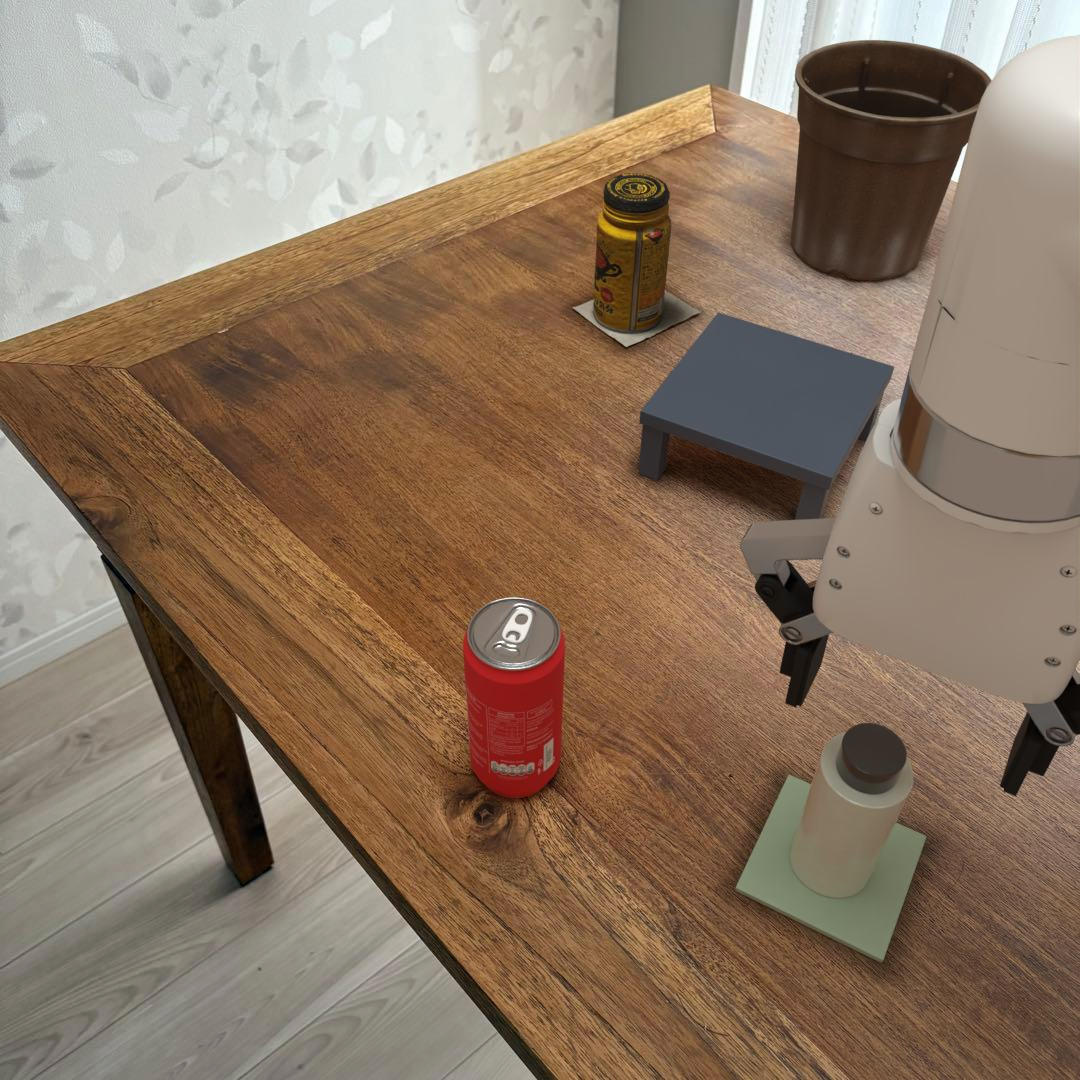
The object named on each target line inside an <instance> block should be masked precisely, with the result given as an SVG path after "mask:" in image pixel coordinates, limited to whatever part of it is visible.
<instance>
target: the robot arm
mask: <svg viewBox="0 0 1080 1080" xmlns="http://www.w3.org/2000/svg"><path fill="white" fill-rule="evenodd" d="M991 80H992V81H991V82H990V84H989V85H988V87H987V89H986V90H985V92H984V94H983V96H982V98H981V101H980V104H979V107H978V110H977V113H976V117H975V120H974V123H973V126H972V129H971V133H970V137H969V141H968V143H967V144H966V148H965V153H964V157H963V160H962V164H961V168H960V172H959V176H958V180H957V183H956V186H955V187H956V188H955V192H954V196H953V200H952V203H951V206H950V211H949V214H948V219H947V222H946V225H945V230H944V233H943V238H942V242H941V245H940V250H939V253H938V257H937V260H936V266H935V269H934V273H933V277H932V281H931V285H930V288H929V292H928V297H927V300H926V303H925V308H924V311H923V315H922V318H921V322H920V326H919V330H918V334H917V337H916V341H915V345H914V349H913V352H912V356H911V360H910V363H909V367H908V371H907V375H906V378H905V383H904V386H903V391H902V394H901V397H900V398H897V399H895V400H892V401H891V402H889V403H887V405H885V407H884V408H883V409H882V411H881V412H880V414H879V416H877V418H876V421H875V424H874V426H873V428H872V430H871V432H870V434H869V436H868V438H867V440H866V441H865V443H864V445H863V447H862V448H861V452H860V454H859V456H858V458H857V461H856V464H855V466H854V469H853V471H852V474H851V477H850V479H849V481H848V484H847V486H846V488H845V491H844V494H843V497H842V500H841V503H840V505H839V507H838V511H837V514H836V517H828V518H826V517H825V518H824V517H823V519H802V520H795V519H787V520H785V519H784V520H783V519H782V520H764V521H755V522H752V523H751V524H750V525H749V526H748V529H747V530H746V532H745V534H744V535H743V537H742V539H741V540H740V542H739V549H740V551H741V553H742V556H743V558H744V561H745V563H746V565H747V567H748V570H749V572H750V574H751V575H753V576H754V579H755V581H756V583H755V584H754V591H755V593H756V594H757V596H758V597H759V598H760V599H761V601H762V602H763V603H764V604H765V605H766V607H767V608H768V610H770V612H771V613H772V615H774V617H775V618H776V619H777V621H778V622H779V623H780V626H779V628H778V634H779V637H780V638H781V639H782V640H783V641H784V642H785V643H784V648H783V652H782V653H783V654H782V657H781V658H782V659H781V664H780V666H779V667H780V668H779V674H781V675H784V676H786V677H789V678H790V679H789V684H788V687H787V693H786V697H785V702H784V704H786V705H788V706H790V707H793V708H795V709H796V708H797V707H798V706H799V707H802V706H803V704H804V702H805V700H806V698H807V696H808V693H809V692H810V690H811V688H812V686H813V683H814V681H815V679H816V677H817V676H818V673H819V671H820V669H821V666H822V665H823V660H824V657H825V652H826V648H827V644H828V640H829V637H830V635H832V634H836V635H838V636H839V637H841V638H843V639H845V640H848V641H850V642H853V643H855V644H857V645H860V646H862V647H864V648H866V649H869V650H872V651H874V652H878V653H880V654H883V655H885V656H887V657H891V658H893V659H894V660H898V661H901V662H903V663H906V664H909V665H910V666H911V665H912V666H914V667H917V668H919V669H922V670H925V671H926V672H929V673H933V674H936V675H938V676H941V677H943V678H946V679H949V680H952V681H954V682H957V683H960V684H962V685H965V686H968V687H971V688H974V689H976V690H980V691H982V692H985V693H987V694H990V695H994V696H996V697H999V698H1002V699H1005V700H1009V701H1013V702H1017V703H1021V704H1022V705H1023V707H1024V708H1025V710H1026V711H1027V712H1026V713H1025V715H1024V717H1023V719H1022V722H1021V724H1020V726H1019V728H1018V730H1017V732H1016V733H1015V736H1014V739H1013V742H1012V745H1011V748H1010V751H1009V755H1008V758H1007V761H1006V765H1005V767H1004V771H1003V774H1002V777H1001V780H1000V783H999V787H1000V788H1002V789H1003V790H1002V791H1003V792H1004V793H1007V794H1008V795H1011V796H1012V797H1013V796H1014V797H1016V796H1017V795H1018V793H1019V791H1020V789H1021V787H1022V785H1023V783H1024V781H1025V779H1026V777H1027V775H1028V774H1029V772H1030V773H1032V774H1035V775H1038V776H1041V777H1044V776H1045V775H1046V773H1047V770H1048V769H1049V767H1050V765H1051V763H1052V761H1053V760H1054V757H1055V755H1056V754H1057V752H1058V750H1059V748H1060V747H1068V746H1071V745H1073V743H1074V742H1075V741H1076V736H1080V673H1079V672H1078V670H1077V666H1078V664H1079V662H1080V34H1078V35H1069V36H1068V35H1067V36H1064V37H1057V38H1053V39H1050V40H1046V41H1042V42H1040V43H1038V44H1036V45H1034V46H1031V47H1030V48H1027V49H1025V50H1023V51H1021V52H1019V53H1017V54H1016V55H1015V56H1014V57H1012V58H1011V59H1010V60H1008V61H1007V62H1006V63H1005V64H1004V65H1003V66H1002V67H1000V69H999V70H998V71H997V72H996V74H994V77H993V78H992V79H991ZM807 560H821V564H820V567H819V571H818V575H817V577H816V579H814V580H812V581H810V582H807V581H806V580H805V579H804V577H802V575H801V574H800V572H798V570H797V569H796V568H795V566H794V565H793V563H791V562H790V561H807Z"/></svg>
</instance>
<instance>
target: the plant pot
mask: <svg viewBox="0 0 1080 1080" xmlns="http://www.w3.org/2000/svg"><path fill="white" fill-rule="evenodd" d="M794 79H795V83H796V85H797V87H798V94H797V95H798V96H797V99H798V100H797V111H796V112H797V113H796V115H797V116H796V120H797V122H798V125H799V135H798V147H797V160H796V170H795V171H796V172H795V185H794V198H793V211H792V222H791V231H790V243H791V246H792V248H793V250H794V251H795V253H796V254H797V256H798V257H800V259H801V260H803V261H804V262H805V263H807V264H808V265H810V266H811V267H813V268H815V269H816V270H818V271H821V272H824V273H826V274H830V273H833V272H838V273H841V274H844V275H845V276H846V277H847V278H849V279H852V280H859V281H860V280H862V281H876V280H885V279H890V278H894V277H898V276H901V275H904V274H906V273H908V272H910V271H911V270H913V269H914V268H915V267H917V266H918V264H919V262H920V260H921V259H922V257H923V255H924V253H925V250H926V247H927V245H928V242H929V239H930V236H931V234H932V231H933V228H934V225H935V222H936V220H937V217H938V215H939V212H940V210H941V207H942V205H943V202H944V199H945V197H946V194H947V190H948V188H949V186H950V183H951V180H952V177H953V175H954V173H955V170H956V168H957V166H958V162H959V160H960V157H961V155H962V152H963V149H964V147H965V146H967V145H968V141H969V137H970V133H971V129H972V126H973V123H974V120H975V117H976V113H977V110H978V107H979V104H980V101H981V98H982V96H983V94H984V92H985V90H986V89H987V87H988V85H989V84H990V82H991V81H992V80H993V79H992V78H991V77H990V76H989V74H988V73H987V72H985V70H983V69H982V68H980V67H978V66H977V64H975V63H973V62H972V61H970V60H968V59H966V58H964V57H962V56H960V55H958V54H955V53H952V52H949V51H947V50H944V49H940V48H937V47H932V46H927V45H924V44H919V43H913V42H905V41H897V40H885V39H859V40H850V41H849V40H848V41H842V42H837V43H832V44H829V45H825V46H821V47H819V48H817V49H814V50H812V51H810V52H809V53H806V54H805V55H803V57H801V58H800V59H799V61H798V62H797V64H796V66H795V70H794Z"/></svg>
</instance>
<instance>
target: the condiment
mask: <svg viewBox="0 0 1080 1080" xmlns="http://www.w3.org/2000/svg"><path fill="white" fill-rule="evenodd" d="M602 193H603V201H602V204H601V208H602V211H601V212H600V213H599V215H598V218H597V225H596V247H595V259H594V260H595V262H594V264H595V266H594V283H593V299H591V300H588V301H586V302H584V303H582V304H579V305H576V306H572V309H573V310H574V311H576V313H577V312H578V313H579V314H580V315H581V316H583V317H584V319H586V320H587V321H589V322H590V323H591V324H593V325H594V327H597V328H598V329H600V330H601V331H602V332H604V333H605V334H606V335H608V336H609V337H611V338H613V339H615V341H617V342H618V343H620V344H622V345H623V346H624V347H625V348H627V347H629V346H632V345H634V344H637V343H640V342H642V341H644V340H646V339H647V338H651V337H653V336H655V335H657V334H659V333H661V332H663V331H664V330H667V329H668V328H669V327H672V326H675V325H677V324H679V323H681V322H684V321H685V320H688V319H689V318H691V317H693V316H695V315H697V314H700V313H701V310H698V309H697V308H695V307H692V306H691V305H689V304H688V303H686V302H685V301H683V300H681V299H679V298H678V297H677V296H675V295H674V294H672V293H671V292H668V291H667V290H666V284H667V273H668V265H669V254H670V247H671V238H672V237H671V236H672V219H671V217H670V215H669V212H670V211H669V210H670V203H669V201H670V197H671V195H670V194H671V192H670V190H669V188H668V185H667V183H666V182H664V181H663V179H660V178H658V177H656V176H653V175H652V174H646V173H638V172H630V173H624V174H623V173H622V174H618V175H616V176H614V177H612V178H611V179H609V180H608V181H607V182H606V183H605V184H604V187H603V192H602Z"/></svg>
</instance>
